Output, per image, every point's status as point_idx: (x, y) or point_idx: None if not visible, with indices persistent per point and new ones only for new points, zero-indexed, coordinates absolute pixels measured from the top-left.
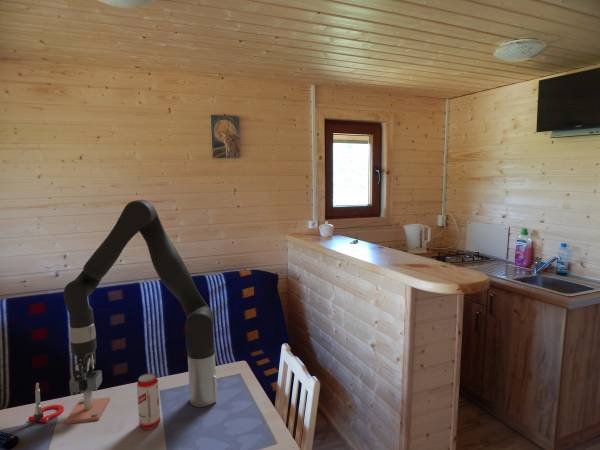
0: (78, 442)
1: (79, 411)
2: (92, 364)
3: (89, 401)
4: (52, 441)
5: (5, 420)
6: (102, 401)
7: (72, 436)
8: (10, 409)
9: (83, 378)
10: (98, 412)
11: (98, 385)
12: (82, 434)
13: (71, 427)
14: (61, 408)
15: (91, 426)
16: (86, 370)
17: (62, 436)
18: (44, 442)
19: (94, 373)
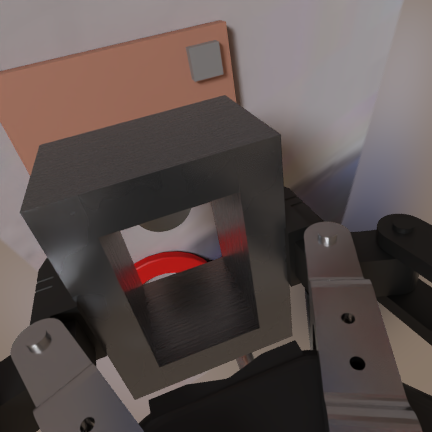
0: (383, 29)
1: None
2: (101, 374)
3: None
4: (346, 153)
5: (209, 370)
6: (48, 103)
7: (334, 89)
8: None
9: (414, 228)
10: (191, 47)
11: (165, 116)
12: (330, 46)
13: None
14: (142, 273)
15: (273, 34)
16: (373, 297)
17: (324, 135)
18: (345, 178)
19: (106, 248)
